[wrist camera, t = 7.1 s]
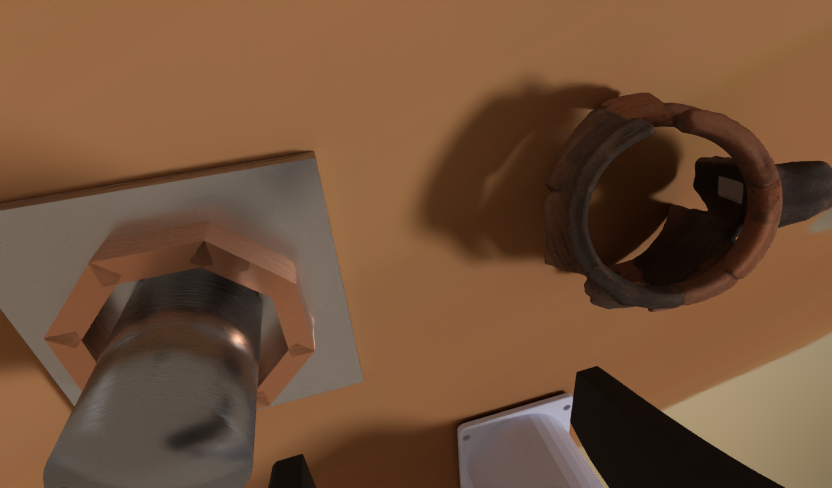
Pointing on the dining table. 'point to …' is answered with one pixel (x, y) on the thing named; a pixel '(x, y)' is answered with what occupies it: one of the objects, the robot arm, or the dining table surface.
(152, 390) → the grey cylinder
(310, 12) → the dining table surface
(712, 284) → the pottery mug
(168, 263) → the flange plate
